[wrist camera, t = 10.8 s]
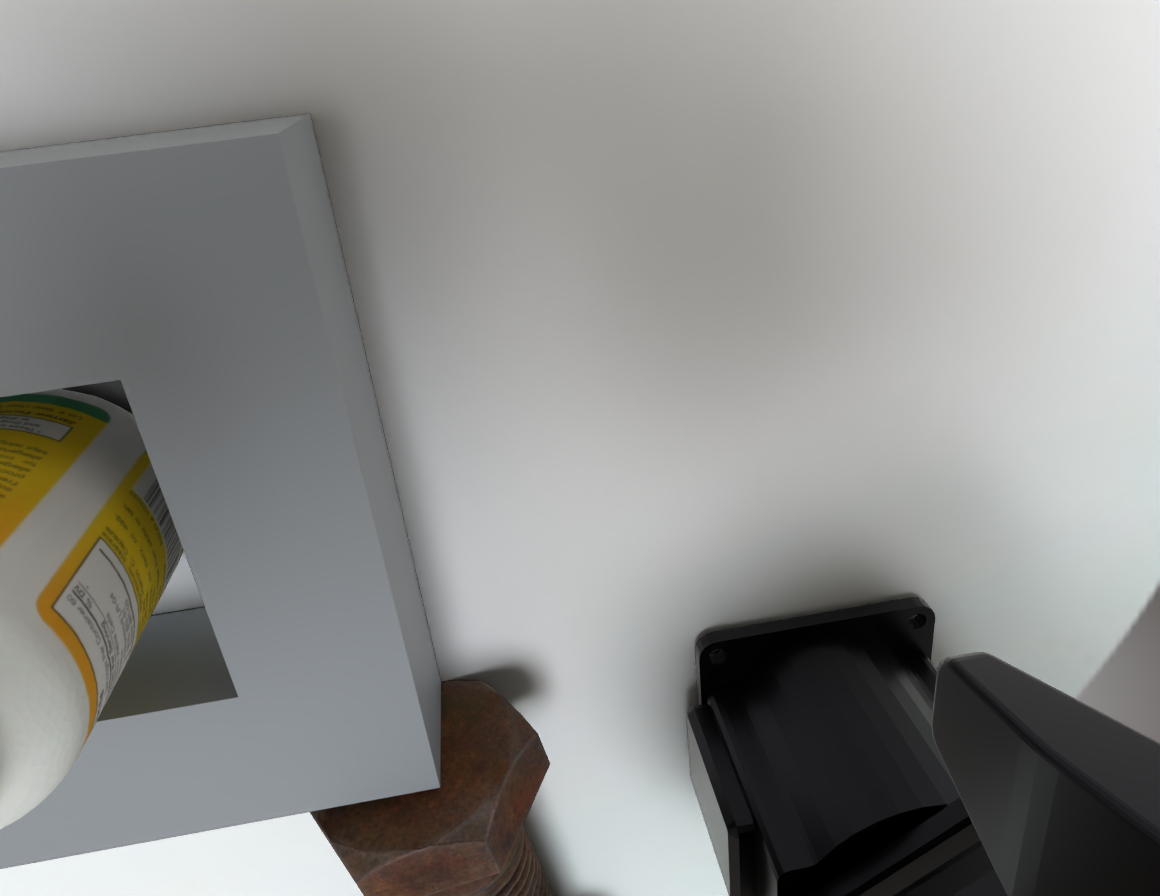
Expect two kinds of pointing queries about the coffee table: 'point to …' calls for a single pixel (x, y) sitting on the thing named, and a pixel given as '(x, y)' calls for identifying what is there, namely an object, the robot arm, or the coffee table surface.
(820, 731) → the robot arm
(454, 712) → the bolt
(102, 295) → the socket block
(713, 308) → the coffee table surface
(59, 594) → the supplement bottle
